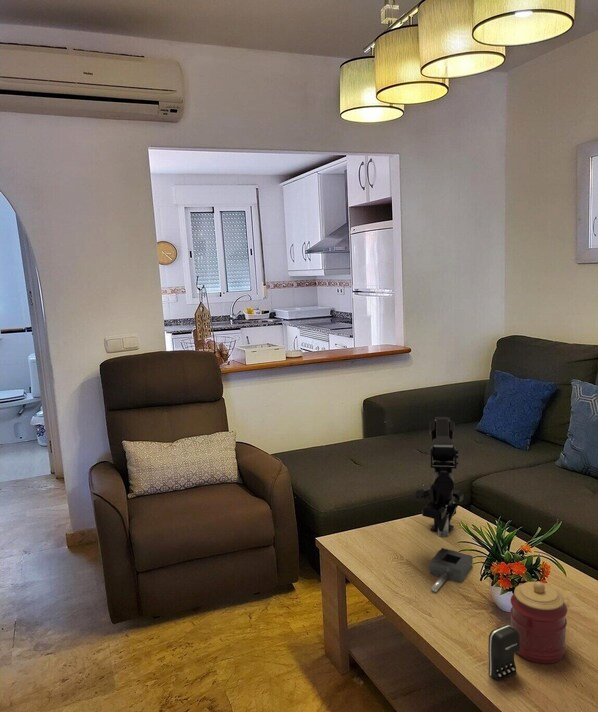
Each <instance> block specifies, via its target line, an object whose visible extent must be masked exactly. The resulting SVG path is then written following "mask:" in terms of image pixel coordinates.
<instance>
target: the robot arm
mask: <svg viewBox="0 0 598 712" xmlns="http://www.w3.org/2000/svg"><path fill="white" fill-rule="evenodd" d="M455 431H456V430H455V421H453V420H451V418H450V417H448V416H436V417H434V419H432V420H430V421H429V435H430V436H431V441H432V445H430V468H431V469H433V484H432V485H428V486H422V487H420V488H417V489H416V490H415V492H414V498H415V499H416V500H418V502H422V501H427V500H428V501H429V503H427V504H426V505H425V506H424V507H422V509H421V515H422V517H426V518H430V519H433V525H432V526H431V527H430V529H429V530H430V531H432V532H437V533H438V529H439V531H441V532H443V530H444V527H445V525H446V522H447V519H448V534H449V533H450V532H451V531H452V530H453V529H454V527H455V526H454V525H452V524H451V520H452V519H453V517H455V515H456V514H457V508H458V507H459V504H458V503H462V501H463V500H464V493H463V492H462V490H459V489H455V488H456V483H454V482H455V480H454V469H457V466H458V465H459V450H458V449H457V446H456V445H454V439H453V436H455ZM456 499H457V501H458V503H456V501H455V500H456ZM446 510H448V512H446Z"/></svg>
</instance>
